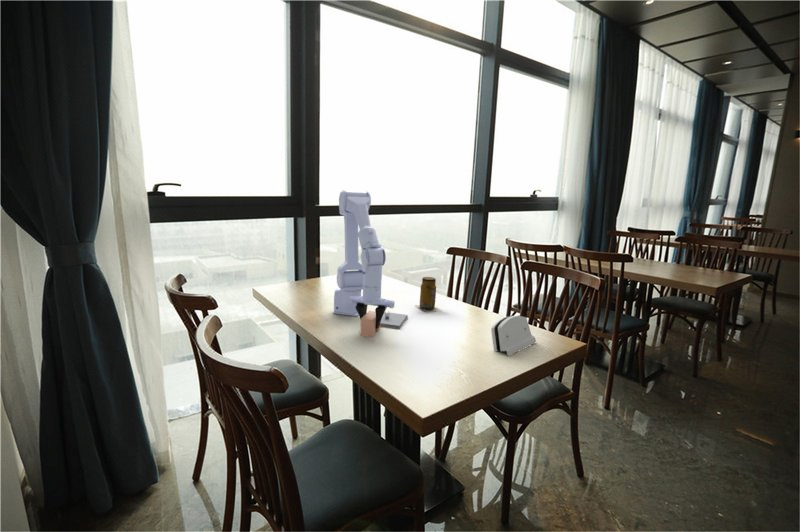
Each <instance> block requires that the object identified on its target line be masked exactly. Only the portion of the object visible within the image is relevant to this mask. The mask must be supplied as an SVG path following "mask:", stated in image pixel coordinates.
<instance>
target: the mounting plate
mask: <svg viewBox="0 0 800 532" xmlns="http://www.w3.org/2000/svg"><path fill="white" fill-rule="evenodd" d="M407 319H408V314H405V313H396V312H390V315H389V319H386V318H385V312H384V314H383V316H382V319H381V322H380V327H385V328H392V329H399V330H400V328H401V327H402V326H403V324H404V323H405V321H406V320H407Z"/></svg>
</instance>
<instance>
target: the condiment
mask: <svg viewBox="0 0 800 532" xmlns="http://www.w3.org/2000/svg"><path fill="white" fill-rule="evenodd" d="M421 279H422V280H421V285H420V293H419V295H420V296H419V304H418V305H417V304H416V305H415V307H416V308H418V309H420V310H422V311H424V312H429V313H430V312H436V311H439V312H440V311H441V309H440V308H438V307H436V298H437V297H436V295H437V285H436V281H437V279H436V278H435V277H433V276H432V277H431V276H424V277H422V278H421Z"/></svg>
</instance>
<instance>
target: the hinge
mask: <svg viewBox="0 0 800 532" xmlns="http://www.w3.org/2000/svg"><path fill="white" fill-rule="evenodd" d="M527 318H528V317H526V316H522V315H508V316H506V317H503V318H501V319H498V320H497V321H495V323H494V324H493V325H492V326H491V328H490V331H491V338H492V346H493V351H494V350H495V351H494V352H499V351H500V352H506V354H507V355H510V356H512V355H514V354H513V353H515V352H517V351H519V350H521V349H523V348H525V347H527V346H529V345H531V344H533V343H535V342H536V343H537V340H536V337H535V336H534V335H533V334H532V333H531V329H530V325H529V322H528V319H527ZM536 343H535V344H536ZM533 345H534V344H533ZM531 346H532V345H531ZM529 347H530V346H529ZM527 348H528V347H527ZM525 349H526V348H525ZM523 350H524V349H523ZM521 351H522V350H521ZM519 352H520V351H519ZM517 353H518V352H517ZM511 354H512V355H511ZM515 354H516V353H515ZM507 355H506V356H507Z"/></svg>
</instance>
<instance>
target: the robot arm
mask: <svg viewBox="0 0 800 532" xmlns="http://www.w3.org/2000/svg"><path fill="white" fill-rule="evenodd" d="M338 203H339V204H338V209H339V215H342V216H343V221H344V224H343V225H344V259H345V260H344V262H343V263H342V264H340V265H339V266H338V267H337V273H336V284H337V286H338V287H336V288H335V290H334V296H333V312H332V314H338V315H346V316H354V317H359V319H360V320H361V318H362V317H363V316H364V315H365V314H366V313H367V312H368V306H373V307H374V306H375V307H376V308H375V310H374V312H376V329H378V328H379V327H380V328H381V326H380V322H381V319H382V316H383V314H384V312H385V311H387V310H386V309H388V308H389V309H394V308H395V304H396V303H395V300H389V299H386V298H383V297H381V296H382V278H383V277H382V275H383V273H382V272H383V266H384V265H385V263H386V250H385V249H384V247H383V246H382V245H381V244H380V243H379V240H378V236H377V233H376V230H375V228H374V227H372V226H371V222H370V215H369V210H370V207H371V203H372V197H371V194H370V191H368V190H365V191H361V190H360V191H359V190H358V191H357V190H345V189H342V190H341V191H340V193H339V197H338ZM359 244H360V250H361V253H360V261H361V263H360V262H359Z"/></svg>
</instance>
